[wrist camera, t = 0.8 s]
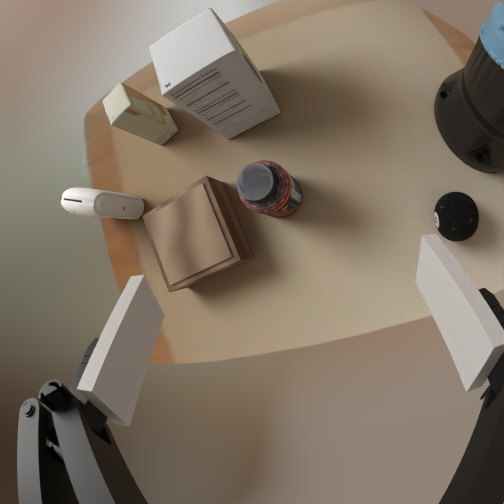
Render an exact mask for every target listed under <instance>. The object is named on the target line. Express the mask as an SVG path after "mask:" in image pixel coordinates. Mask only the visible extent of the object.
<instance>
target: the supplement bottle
mask: <svg viewBox="0 0 504 504" xmlns="http://www.w3.org/2000/svg"><path fill="white" fill-rule="evenodd" d="M237 188H238V193H239V196H240V199H241V200H242V202H243V203H244V205H245V206H246V207H248V208H249V209H251V210H252V211H255V212H258V213H261V214H265V215H269V216H272V217H277V218H282V217H287V216H289V215H291V214H293V213H294V212H295V211H296V210H297V209H298V207H299V205H300V203H301V199H302V193H301V189H300V186H299V184H298V183H297V182H296V181H295V179H293V178H292V177H291V176H290V175H289V174H288V173H287V172H286V171H285V170H284V169H283V168H282V167H281V166H279V165H278V164H276V163H274V162H271V161H258V162H255V163H251V164H249V165H247V166H245V167H244V168H243V169H242V170H241V171H240V173H239V175H238V177H237Z"/></svg>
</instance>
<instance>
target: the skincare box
mask: <svg viewBox="0 0 504 504" xmlns="http://www.w3.org/2000/svg"><path fill="white" fill-rule="evenodd" d="M103 104H104V107H105V110H106V113H107V115H108V118H109V121H110V124H111V125H112V126H115V127H117V128H120V129H122V130H125V131H127V132H130V133H132V134H134V135H137V136H139V137H142V138H144V139H146V140H149V141H151V142H153V143H156V144H158V145H160V146H161V145H162V144H164V143H165V142H166V141H167V140H168V139H170V138H171V137H172V136H173V135H174V134H175V133H176V132H177V131H178V128H177V126H176V124H175V122H174V120H173V118H172V117H171V115H170V113H169V112H168V110H167V108H165V107H164V106H162V105H160V104H158V103H157V102H155V101H153V100H151V99H150V98H148V97H146V96H145V95H143V94H141V93H139V92H137V91H136V90H134V89H132V88H130V87H129V86H127V85H125V84H123V83H121V82H120V83H119V84H118V85H117V86H116V87H115V88H114V89H113V90H112V91H111V92H110V93H109V94H108V95H107V96H106V97H105V98H104V99H103Z"/></svg>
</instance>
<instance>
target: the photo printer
mask: <svg viewBox="0 0 504 504" xmlns="http://www.w3.org/2000/svg"><path fill="white" fill-rule="evenodd" d="M61 204H62V206H63V207H64V208H65V209H66V210H67V211H68V212H71V213H74V214H78V215H83V216H90V217H106V218H120V219H139V218H140V216H141V215H142V214H143V211H144V202H143V201H142V198H139V197H137V196H133V195H128V194H122V193H116V192H110V191H103V190H96V189H88V188H70V189H68V190H66V191H65V192H64V193H63V194H62V201H61Z"/></svg>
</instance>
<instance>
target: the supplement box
mask: <svg viewBox="0 0 504 504" xmlns="http://www.w3.org/2000/svg"><path fill="white" fill-rule="evenodd" d="M149 51H150V54H151V57H152V60H153V63H154V66H155V70H156V73H157V77H158V80H159V84H160V88H161V93H162V96H164V97H165V98H167V99H169V100H170V101H172V102H173V103H175V104H176V105H178V106H179V107H181V108H182V109H184V110H185V111H187V112H189V113H190V114H192V115H193V116H195V117H196V118H198V119H199V120H200V121H202V122H203V123H205V124H206V125H208V126H209V127H211V128H212V129H214V130H215V131H216V132H218V133H219V134H221V135H222V136H224V137H225V138H226V139H228V140H229V139H231V138H233V137H234V136H236V135H238V134H240V133H242V132H244V131H246V130H248V129H250V128H252V127H253V126H255V125H257V124H259V123H261V122H263V121H265V120H267V119H269V118H272V117H274V116H276V115H278V114H280V113H281V111H280V109H279V107H278V105H277V103H276V101H275V99H274V97H273V95H272V93H271V91H270V89H269V88H268V86H267V84H266V82H265V80H264V79H263V77H262V75H261V73H260V72H259V70H258V69H257V68H256V66H255V65H254V63H253V62H252V60H251V59H250V58H249V56H248V55H247V54H246V52H245V51H244V49H243V48H242V47H241V45H240V44H239V43H238V41H237V40H236V39H235V37H234V36H233V35H232V33H231V32H230V31H229V30H228V28H227V27H226V26H225V24H224V23H223V22H222V21H221V19H220V18H219V17H218V16H217V14H216V13H215V12H214V11H213V9H212V8H209V9H207V10H205V11H203V12H201V13H199V14H198V15H196V16H194V17H193V18H191V19H190V20H188V21H187V22H185V23H183V24H182V25H180V26H179V27H177V28H176V29H174V30H173V31H171V32H169V33H168V34H166V35H165V36H164V37H162V38H161V39H159V40H158V41H157V42H155V43H154V44H153V45H151V46H150V47H149Z"/></svg>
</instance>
